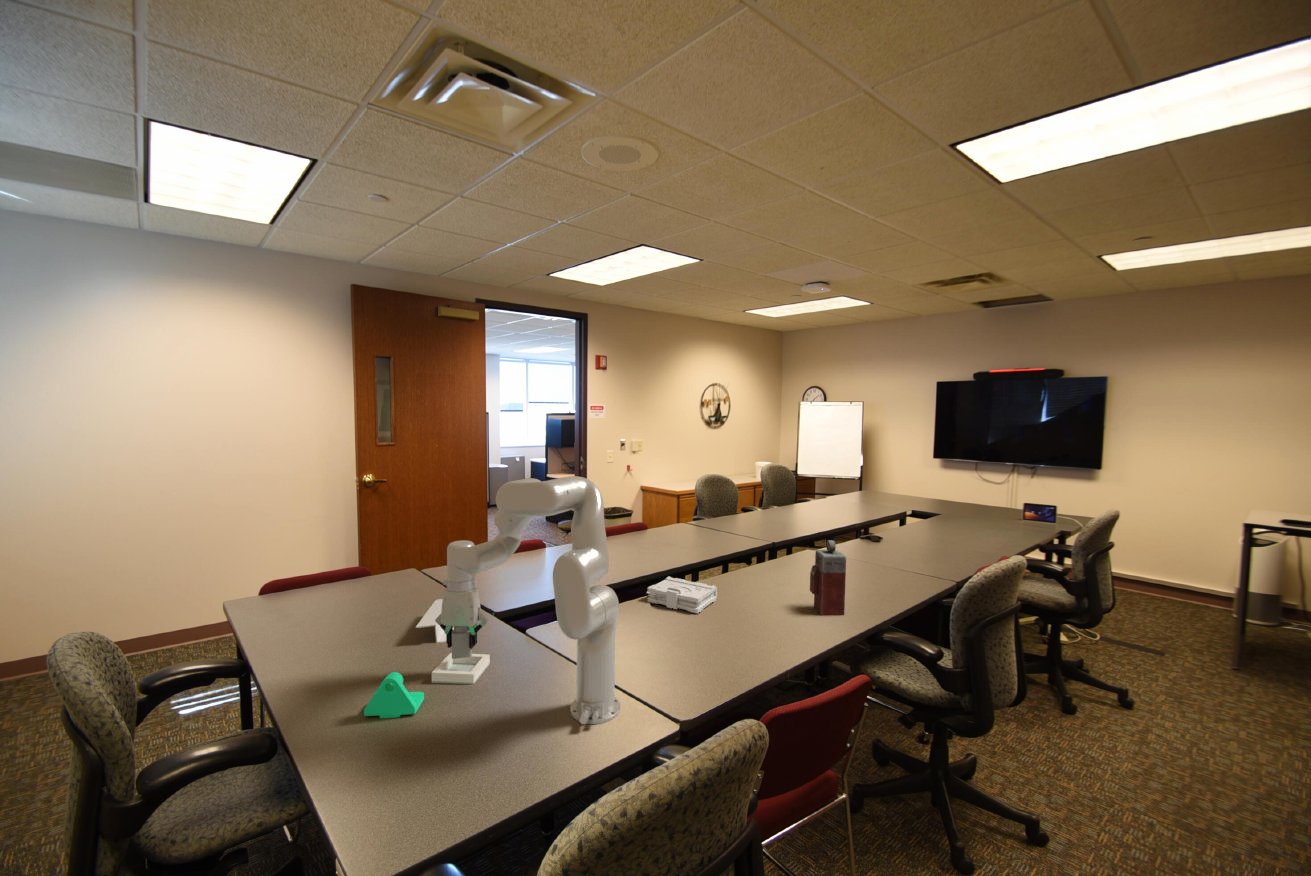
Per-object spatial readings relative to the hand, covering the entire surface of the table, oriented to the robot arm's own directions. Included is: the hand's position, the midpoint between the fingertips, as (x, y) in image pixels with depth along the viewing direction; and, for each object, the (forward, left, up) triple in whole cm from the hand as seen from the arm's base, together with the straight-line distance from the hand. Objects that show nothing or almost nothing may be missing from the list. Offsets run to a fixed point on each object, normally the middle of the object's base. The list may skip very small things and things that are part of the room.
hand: (461, 645), depth 154 cm
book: (+66, -61, -9) cm, 90 cm away
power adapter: (0, 0, -3) cm, 3 cm away
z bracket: (+31, +19, -9) cm, 38 cm away
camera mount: (-19, +9, -9) cm, 23 cm away
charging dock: (0, 0, -8) cm, 8 cm away
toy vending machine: (+58, -118, -8) cm, 132 cm away
